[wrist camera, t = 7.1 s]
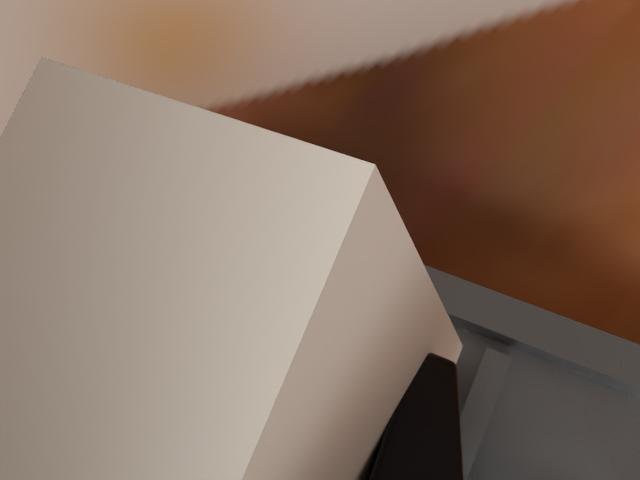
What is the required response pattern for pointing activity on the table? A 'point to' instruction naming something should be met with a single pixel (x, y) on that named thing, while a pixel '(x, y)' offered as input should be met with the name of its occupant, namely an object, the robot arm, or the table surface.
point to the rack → (540, 390)
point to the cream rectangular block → (196, 294)
